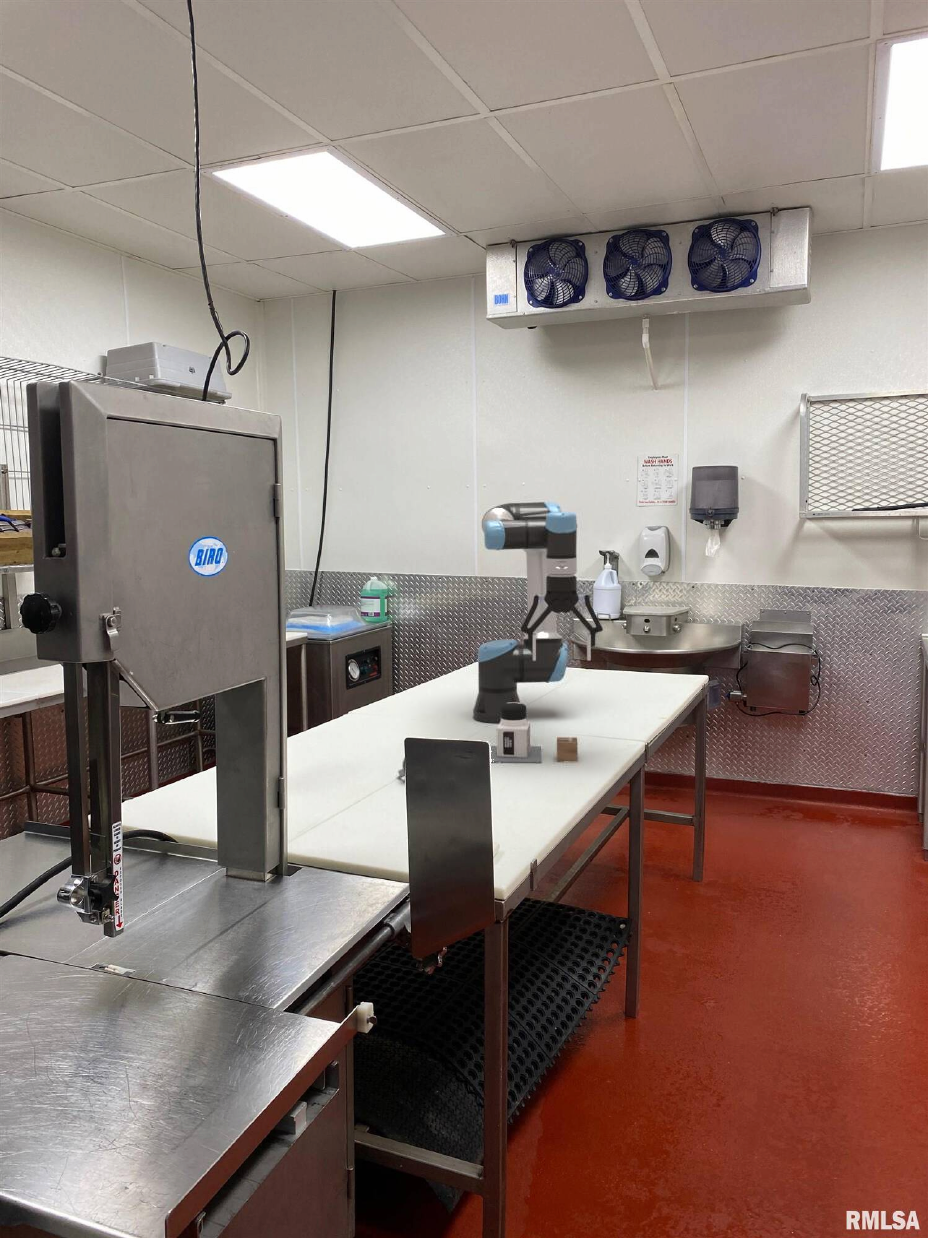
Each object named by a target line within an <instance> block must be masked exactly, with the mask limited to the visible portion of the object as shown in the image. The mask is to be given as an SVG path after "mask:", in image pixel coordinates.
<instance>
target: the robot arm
mask: <svg viewBox="0 0 928 1238" xmlns="http://www.w3.org/2000/svg"><path fill="white" fill-rule="evenodd" d="M481 529H482V532H483V534H484V535H483V537H484V539H483V540H484V548H485V549H486V550H489V551H490V550H495V551H503V550H506V551H507V550H523V551H524V552H525V554H526V589H527V590H526V592H527V594H526V595H527V599H526V600H527V614H526V616H525V618H524V621H523V623H522V625H521V627H520V631H521V632H522V633H525V636H523V640H522V641H523V643H522V644H521V643H518V641H517V640H516V639H513V638H510V639H509V638H508V639H507V638H504V639H495V640H492V641H491V640H490V641H487V642H485V643H482V644H481V645H480V646H479V647H478V649H477V662H478V675H477V677H478V679H477V680H478V693H477V696H476V700H475V703H474V706H473V709H472V718H473V719H474V720H476V721H478V722H481V723H489V724H490V723H493V724H496V723H497V724H499V723H500V722H501V706H502V705H503V704H505V703H511V702H517V703H521V700H520V697H519V694H518V684H519V683H521V684H522V683H523V684H524V683H526V684H527V683H534V684H535V683H547V684H548V683H555V682H560V681H562V680H563V679H564V676H565V674H566V670H567V666H568V665H567V663H568V653H569V652H568V645H567V643H566V642H563V637H562V636H561V635H560V634H559V633H558V629H557V627H558V626H557V614H560V613H564V614H568V613H570V612H572V613H573V614H574V615H575V616H576V618H578V620H579V621H580V622H581V624H582V625H583V626H584V627H585V628H586V629H587V630H588V632H587V633H586V659H587V661H591V658H592V655H591V654H592V652H591V650H592V647H595V646H596V634H597V633H600V632H603V630H604V629H603V626H602V625H601V624H602V623H601V622H600V620H599V618H598V617H597V614H596V613H595V611H594V609H593V606H592V605H591V600H590V599H591V598H590V595H589V594H588V593H585V594H583V595H582V594H581V595H578V591H577V589H578V588H577V582H578V581H577V580H578V578H577V576H576V574H577V572H578V570H577V569H578V568H577V565H578V564H577V563H578V561H577V560H578V559H577V558H578V556H577V544H578V543H577V541H578V540H577V539H578V538H577V537H578V536H577V533H578V523H577V515H576V513H575V512H573V511H572V512H570V511H568V512H567V511H566V512H563V511H562V509H561V506H560V505H559V504H558V503H556V502H547V501H546V502H545V501H542V502H540V501H539V502H538V501H537V502H508V503H503V504H500V505H499V504H498V505H496V506H494V507H492V508H490V509H489V510H488V511H486V512H485V513H484V515H483V517H482V520H481ZM579 601H580V602H581V603H582V604H584V605H585V607H586V609H587V611H588V613H589V615H590V617H591V619H592V622H593V623H594V625H595V627H594V626H593V625H592V624H591V623H590V622H589V621H588V620H587V618H585V616H584V615H583V614H582V613H581V612H580V610H579V609H578V608H577V607H576V605H577V603H578V602H579Z"/></svg>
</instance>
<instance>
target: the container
mask: <svg viewBox="0 0 928 1238" xmlns="http://www.w3.org/2000/svg"><path fill="white" fill-rule="evenodd" d="M496 746H497V756H498V757H517V758H527V757H528V754H529V751H530V746H531V721H529V720H527V706H526V704H523V703H522V702H520V703H517V702H511V703H505V704H503V705H502V706H501V722H500V723H498V725H497V727H496Z"/></svg>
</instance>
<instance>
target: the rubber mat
mask: <svg viewBox="0 0 928 1238" xmlns="http://www.w3.org/2000/svg"><path fill="white" fill-rule="evenodd" d="M490 746H491V751H492V752H491V759H492V763H491V764H499V763H498V762H501V763H500V764H542V745H539V746H538V745H530V751H529V754H528V757H527V758H517V757H498V756H497V745H490ZM493 759H494V760H493ZM493 761H494V763H493ZM496 762H497V763H496Z"/></svg>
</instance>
